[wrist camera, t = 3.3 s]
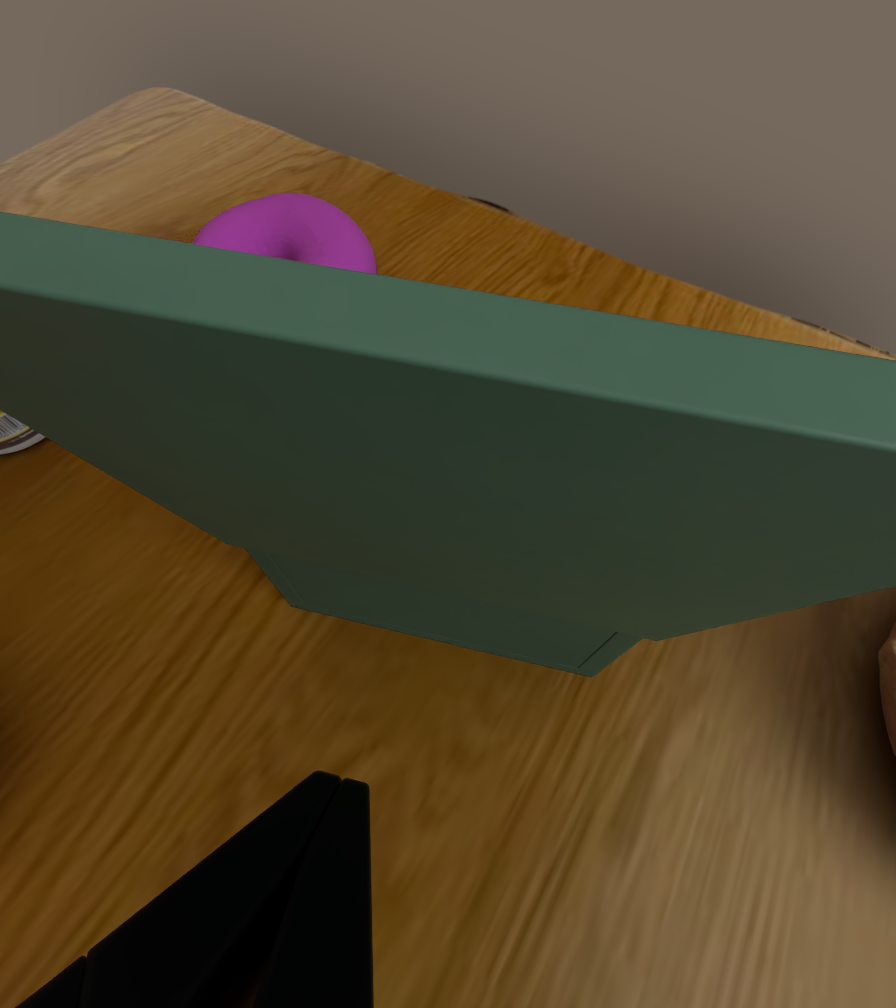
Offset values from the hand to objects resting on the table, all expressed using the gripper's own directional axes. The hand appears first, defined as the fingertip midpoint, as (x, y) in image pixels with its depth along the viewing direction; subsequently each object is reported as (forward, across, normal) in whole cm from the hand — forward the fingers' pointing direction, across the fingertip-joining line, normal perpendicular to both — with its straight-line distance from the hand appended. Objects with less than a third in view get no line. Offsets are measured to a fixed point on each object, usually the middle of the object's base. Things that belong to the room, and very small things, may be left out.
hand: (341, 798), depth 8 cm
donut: (+25, +13, -7) cm, 29 cm away
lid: (+3, 0, -4) cm, 5 cm away
